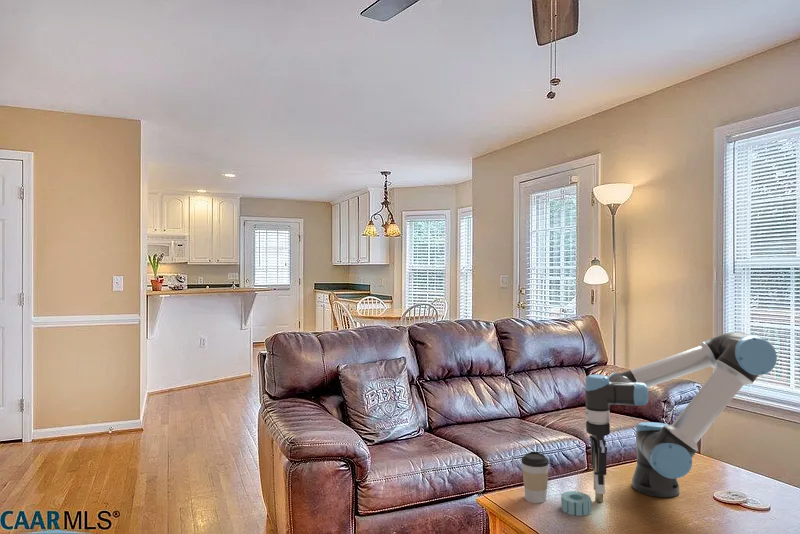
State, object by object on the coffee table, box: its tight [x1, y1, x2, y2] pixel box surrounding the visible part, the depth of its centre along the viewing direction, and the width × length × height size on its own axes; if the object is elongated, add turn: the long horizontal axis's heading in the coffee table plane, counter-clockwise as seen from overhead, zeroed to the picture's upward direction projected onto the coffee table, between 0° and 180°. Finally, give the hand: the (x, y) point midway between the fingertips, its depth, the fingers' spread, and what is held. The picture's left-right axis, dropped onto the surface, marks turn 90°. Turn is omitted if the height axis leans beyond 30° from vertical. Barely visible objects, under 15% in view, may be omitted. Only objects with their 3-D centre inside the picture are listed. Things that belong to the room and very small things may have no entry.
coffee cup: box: [521, 451, 550, 504], centre depth 179 cm, size 9×9×15 cm
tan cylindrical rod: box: [594, 453, 604, 504], centre depth 177 cm, size 2×2×16 cm
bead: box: [560, 490, 592, 517], centre depth 171 cm, size 9×9×4 cm
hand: (599, 491), depth 177 cm, fingers closed on tan cylindrical rod, 2 cm apart
